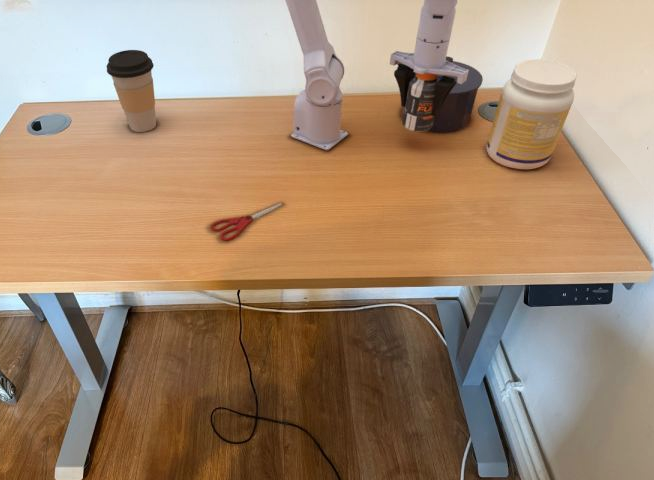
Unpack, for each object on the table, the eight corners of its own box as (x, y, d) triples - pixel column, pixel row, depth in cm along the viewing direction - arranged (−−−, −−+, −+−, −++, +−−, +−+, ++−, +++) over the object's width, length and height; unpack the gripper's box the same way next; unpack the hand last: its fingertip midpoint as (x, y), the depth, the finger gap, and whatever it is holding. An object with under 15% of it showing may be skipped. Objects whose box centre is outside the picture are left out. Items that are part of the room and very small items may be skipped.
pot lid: (396, 91, 109) (400, 68, 106) (414, 60, 119) (417, 39, 116) (475, 103, 105) (481, 81, 101) (486, 70, 114) (492, 49, 111)
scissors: (208, 228, 94) (208, 224, 93) (272, 199, 99) (272, 194, 98) (225, 244, 91) (224, 240, 90) (290, 213, 96) (290, 209, 95)
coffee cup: (143, 111, 123) (128, 44, 112) (173, 122, 119) (161, 54, 108) (112, 128, 117) (94, 61, 107) (142, 141, 113) (127, 72, 103)
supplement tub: (563, 164, 103) (599, 79, 91) (510, 177, 101) (540, 92, 89) (522, 133, 111) (550, 52, 99) (472, 145, 109) (494, 63, 97)
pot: (394, 125, 115) (400, 87, 109) (410, 95, 124) (416, 58, 118) (463, 138, 111) (473, 99, 105) (474, 105, 120) (484, 68, 114)
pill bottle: (414, 135, 103) (425, 78, 95) (396, 122, 107) (404, 66, 99) (439, 127, 105) (451, 71, 97) (419, 114, 109) (430, 59, 100)
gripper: (385, 35, 95) (376, 106, 104) (462, 54, 88) (445, 128, 98) (404, 22, 98) (394, 92, 108) (480, 40, 92) (462, 113, 102)
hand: (420, 109), depth 103 cm, fingers closed on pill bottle, 6 cm apart
